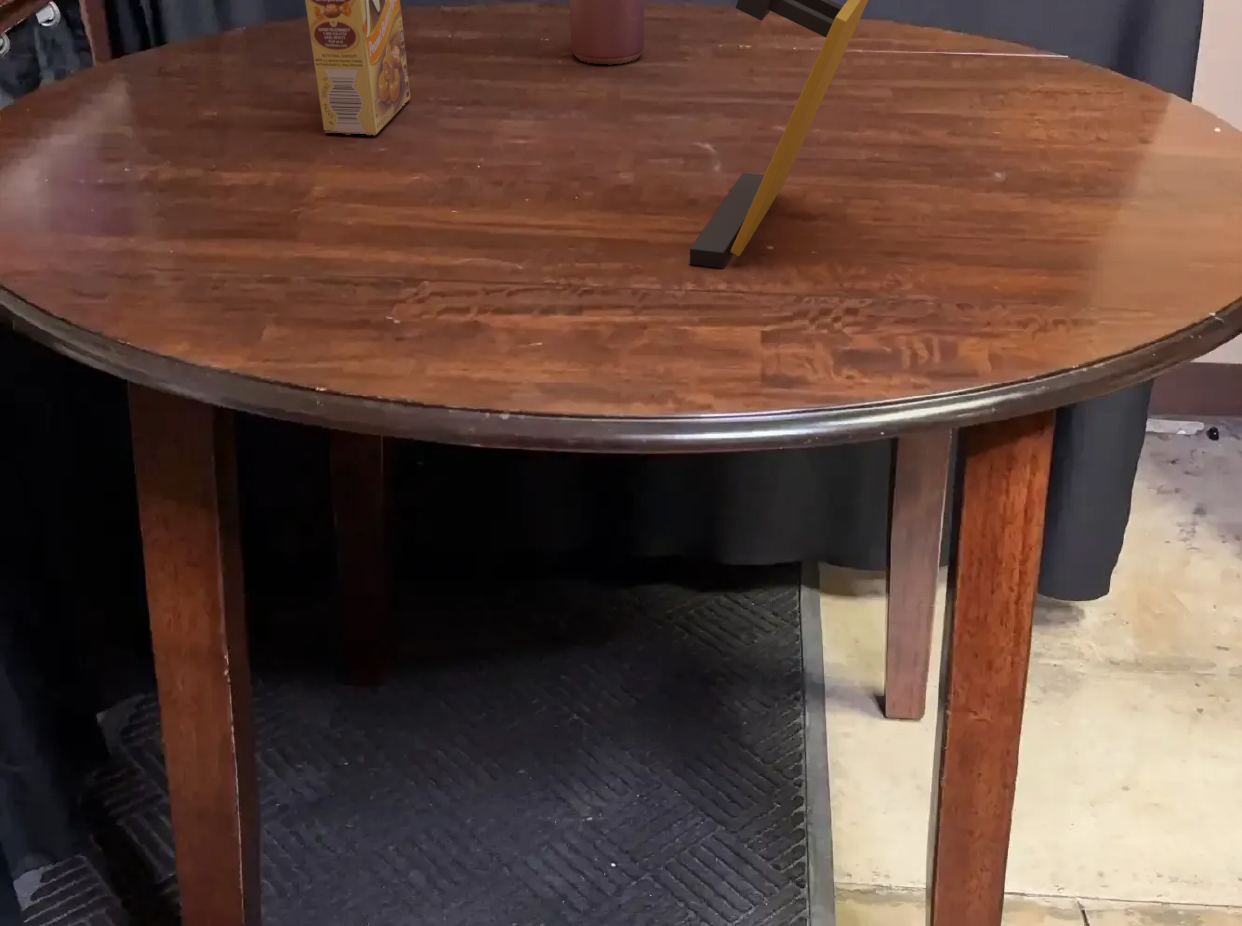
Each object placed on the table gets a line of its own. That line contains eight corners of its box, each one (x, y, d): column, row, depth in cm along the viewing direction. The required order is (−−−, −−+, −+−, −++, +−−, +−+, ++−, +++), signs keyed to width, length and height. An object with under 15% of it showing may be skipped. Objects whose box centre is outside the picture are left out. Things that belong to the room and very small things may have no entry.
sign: (882, -32, 80) (789, -77, 80) (846, 21, 71) (741, -30, 71) (783, 185, 89) (699, 144, 89) (739, 257, 80) (645, 211, 80)
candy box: (378, 138, 99) (351, -102, 90) (320, 136, 99) (287, -103, 90) (412, 100, 106) (391, -126, 97) (358, 98, 106) (331, -127, 97)
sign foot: (772, 190, 90) (773, 175, 89) (723, 268, 80) (724, 252, 79) (741, 187, 90) (742, 172, 90) (689, 265, 80) (689, 248, 80)
